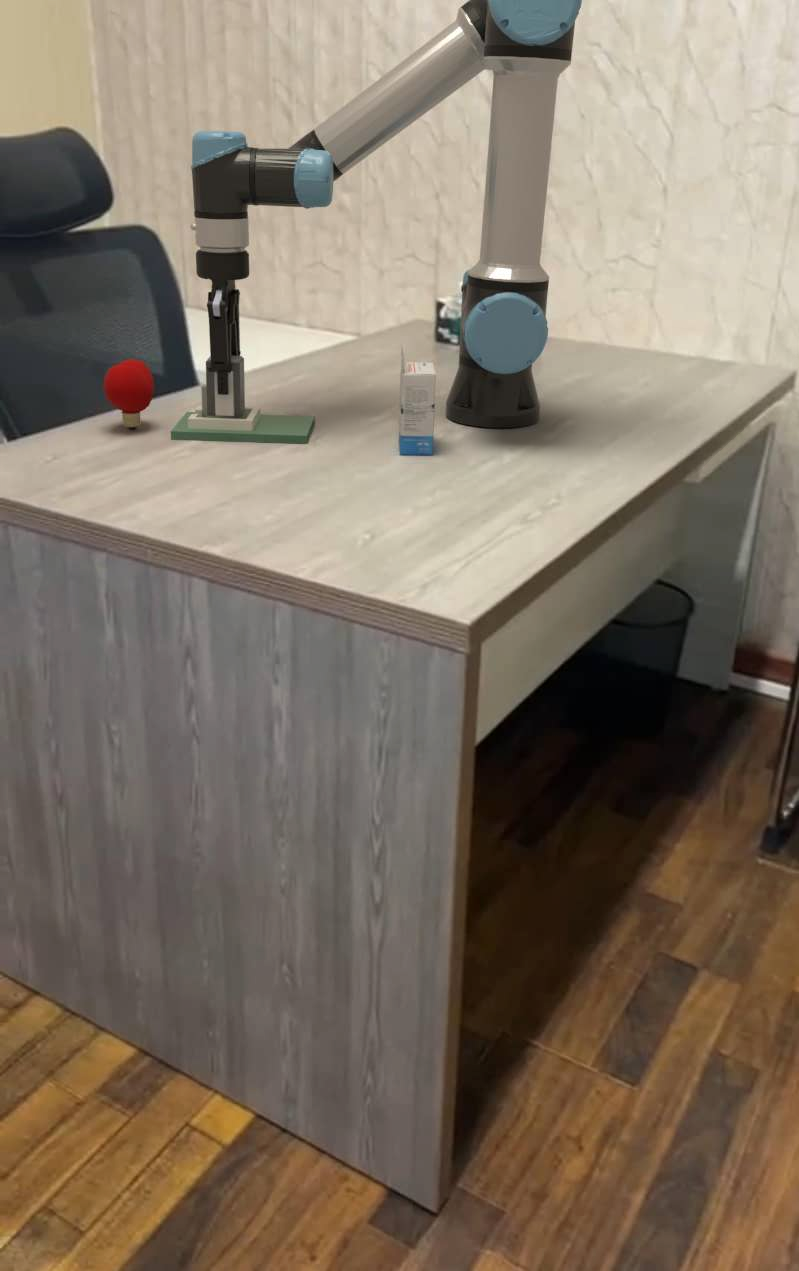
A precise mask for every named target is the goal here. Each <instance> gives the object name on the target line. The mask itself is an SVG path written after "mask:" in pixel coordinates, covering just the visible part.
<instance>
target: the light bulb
mask: <svg viewBox="0 0 799 1271" xmlns="http://www.w3.org/2000/svg"><path fill="white" fill-rule="evenodd" d="M103 391H104V395H105V397H106V400H107V401H108V403H109V404H111V405H112V406H113V407H114V408H116V409H117V410H119V411H121V415H122V416H121V417H122V418H121V419H122V425H123V426H125V428H127V429H129V430H132V431H133V430H135V429H137V427H139V426H140V425H141V421H142V420H141V412H143V411H144V410H146V409H147V408H149V406H150V404H151V402H152V399H153V397H154V391H155V380H154V376H153V374H152V372H151V370H150V368H149V367H148V366H147V365H146V364H145V362H143V361H141V360H138V359H127V360H126V359H125V360H123V361H121V362H120V363H119V364H115V365H113V366H111V367H110V368H109V369H108V371H107V372H106V374H105V377H104V380H103Z"/></svg>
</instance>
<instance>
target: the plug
mask: <svg viewBox="0 0 799 1271" xmlns="http://www.w3.org/2000/svg"><path fill="white" fill-rule="evenodd" d="M210 365H211V355H209V357H207V359H206V361H205V378H206V380H205V381H206V384H202V386H201V388H200V389H201V405H202V413H206V414H207V416H216V413H215V387H214V372H209V371H208V368H211V367H210ZM231 367H232V370H231V371H233V383H234V416H226V417H241V416H242V414H243V413H244V411H245V407H246V403H245V402H246V400H245V397H246V396H245V392H246V391H245V390H246V389H245V357H243V355H240V356H231Z"/></svg>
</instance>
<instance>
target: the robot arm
mask: <svg viewBox="0 0 799 1271" xmlns="http://www.w3.org/2000/svg"><path fill="white" fill-rule="evenodd" d="M582 1H583V0H468V1H466V2H465V3H464V4H462V6H459V8H458V9H457V14H456V19H455V20H454V21H453V22H452V23H450V25H448V26H446V28H444V29H443V30H441V31H440V32H439V33H437V34H436V35H435V36H434V37H432V38H431V39H430V40H428V41H426V43H425V44H423V45H422V46H420V47H419V48H418V49H416V50H415V51H414V52H413V53H412V54H410V55H409V56H408V57H406V58H404V59H403V60H402V61H401V62H400V63H399V64H397V65H395V66H394V67H393V68H391V69H390V70H389V71H388V72H386V73H384V75H383V76H381V77H380V78H379V79H378V80H376V81H375V82H374V83H372V84H371V85H369V86H368V87H367V88H366V89H364V90H363V91H362V92H360V93H358V94H357V95H356V96H355V97H354V98H353V99H351V100H350V101H349V102H347V103H346V104H345V105H344V106H342V107H340V108H339V109H338V110H337V111H335V112H334V113H332V115H330V116H329V117H328V118H326V119H325V120H324V121H322V122H321V123H320V124H318V125H317V126H316V127H315V128H314V129H312V130H311V131H309V132H308V133H307V134H306V135H304V136H303V137H302V138H300V139H299V140H297V141H296V142H295V143H293V144H292V145H291V146H289V147H287V148H258V147H253V146H248V142H247V137H246V135H245V133H243V132H242V131H228V130H227V131H226V130H199V131H197V132H195V133H194V135H193V136H192V139H191V140H192V141H191V150H192V151H191V165H190V168H191V169H190V170H191V177H192V191H193V192H192V193H193V194H192V196H193V209H194V210H193V211H194V212H193V213H194V215H193V216H194V222H192V223H191V225H190V229H191V230H192V231H195V235H194V236H195V245H196V246H197V247H198V248H200V249H197V250H196V251H195V266H196V270H195V272H196V275H197V277H198V278H201V279H202V280H203V279H204V280H209V281H211V291H208V293H207V303H206V307H207V314H208V315H207V316H208V327H209V328H208V329H209V330H208V331H209V333H208V334H209V349H210V350H209V351H210V355H209V356H211V365H210V367H211V368H208V371H209V372H214V387H215V413H216V416H234V383H233V371H231V370H232V367H231V356H241V353H242V351H241V342H240V340H241V336H240V335H241V332H240V329H241V328H240V299H241V298H240V295H241V292H240V289H237V288H236V282H235V281H238V280H244V279H247V278H248V277H249V276H250V253H249V252H248V250H246V248H248V247H249V246H250V232H249V229H250V227H249V217H248V216H249V214H248V210H249V206H254V207H256V206H257V207H259V206H266V207H267V206H270V207H284V208H285V207H288V208H290V207H291V208H292V207H293V208H304V209H306V210H307V209H312V208H327V207H329V206H330V205H331V204H332V202H333V195H334V182H335V181H337V180H338V179H339V178H341V177H342V176H343V175H344V174H345V173H347V172H349V171H350V170H351V169H352V168H354V167H355V166H356V165H358V164H359V163H361V162H362V161H363V160H364V159H366V158H367V157H369V156H370V155H371V154H373V153H374V152H375V151H377V150H378V149H379V148H381V147H382V146H384V144H386V143H387V142H388V141H390V140H392V139H393V138H394V137H395V136H397V135H398V134H400V133H401V132H402V131H403V130H405V129H407V128H408V127H409V126H410V125H412V124H413V123H415V121H417V120H419V119H420V118H421V117H423V116H424V115H425V114H427V113H428V112H429V111H431V110H432V109H433V108H435V107H436V106H437V105H438V104H441V102H442V101H445V100H446V99H447V98H448V97H449V96H451V95H452V94H454V93H455V92H456V91H458V90H459V89H460V88H462V87H463V86H465V85H466V84H467V83H469V82H470V81H471V80H472V79H474V78H475V77H477V76H478V75H479V74H480V73H482V72H483V71H485V70H486V71H488V70H489V71H492V74H493V80H492V93H491V94H492V96H491V105H490V106H491V107H490V120H489V131H488V133H489V134H488V146H487V158H486V171H485V172H486V174H485V185H484V196H483V197H484V198H483V212H482V223H481V224H482V225H481V238H480V251H479V259H478V261H477V263H475V265H474V266H472V267H471V268H470V269H468V270H466V271H465V272H464V274H463V276H462V284H461V286H460V291H461V306H460V307H461V311H460V328H459V329H460V332H459V333H460V334H459V357H458V368H457V372H456V374H455V377H454V380H453V382H452V384H451V387H450V390H449V393H448V396H447V398H446V401H445V402H446V403H445V416H446V417H448V418H447V419H449V420H451V421H453V422H456V423H458V424H461V425H466V426H473V427H479V428H480V427H481V428H493V429H494V428H497V429H498V428H500V429H506V428H509V429H510V428H520V427H526V426H530V425H533V424H535V423H537V422H539V420H540V413H541V412H540V410H541V405H540V400H539V397H538V392H537V391H538V390H537V388H536V384H535V379H534V375H533V364H534V363H535V362H536V361H537V360H538V359H539V357H540V356H541V354H542V353H543V351H544V348H545V346H546V344H547V340H548V337H549V326H548V321H547V318H546V316H547V305H548V292H549V283H550V276H549V275H548V273H547V272H546V271H545V269H544V268H543V267H542V265H541V254H542V247H543V246H542V244H543V233H544V224H545V214H546V213H545V212H546V204H547V195H548V194H547V193H548V184H549V174H550V163H551V154H552V153H551V152H552V144H553V142H552V141H553V132H554V122H555V110H556V100H557V92H558V91H557V89H558V81H559V80H558V79H559V77H560V76H561V74H562V73H563V72H564V71H566V69H567V68H568V67H570V65H571V63H572V53H573V47H574V45H573V44H574V36H575V35H574V34H575V29H576V28H575V27H576V26H575V25H576V20H577V18H578V16H579V14H580V9H581V7H582Z"/></svg>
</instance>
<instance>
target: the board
mask: <svg viewBox="0 0 799 1271" xmlns="http://www.w3.org/2000/svg"><path fill="white" fill-rule="evenodd" d="M315 425H316V416H315V415H295V414H293V415H292V414H264V413H261V407H260V406H258V407H257V406H245V411H244V413H243V414H242V416H241V417H226V416H207V414H206V413H202V404H201V405H198V406H197V407H196V408H195V409H194V411H186V413H184V415H183V416H182V417H181V419H179V421H178V422H177V423H176V425H175V426H174V427H173V428H172V429H171V430H170V440H183V441H212V442H213V441H214V442H215V441H216V442H218V441H219V442H246V443H268V444H269V443H273V444H299V445H307V444H308V442H309V440H310V436H311V433H313V430H314V427H315Z"/></svg>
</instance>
